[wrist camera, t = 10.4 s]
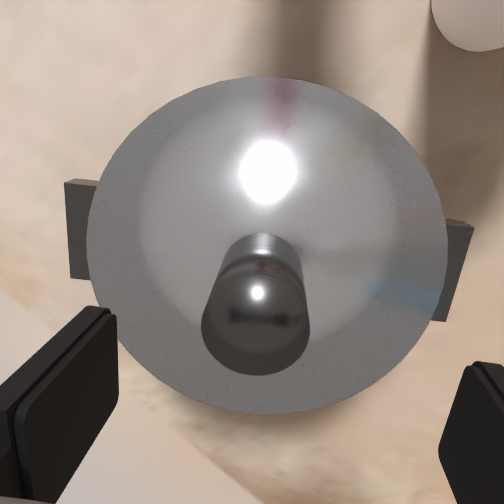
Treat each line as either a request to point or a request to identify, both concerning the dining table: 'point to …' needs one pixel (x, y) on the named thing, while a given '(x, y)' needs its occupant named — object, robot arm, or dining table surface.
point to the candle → (471, 23)
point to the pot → (83, 190)
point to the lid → (267, 245)
